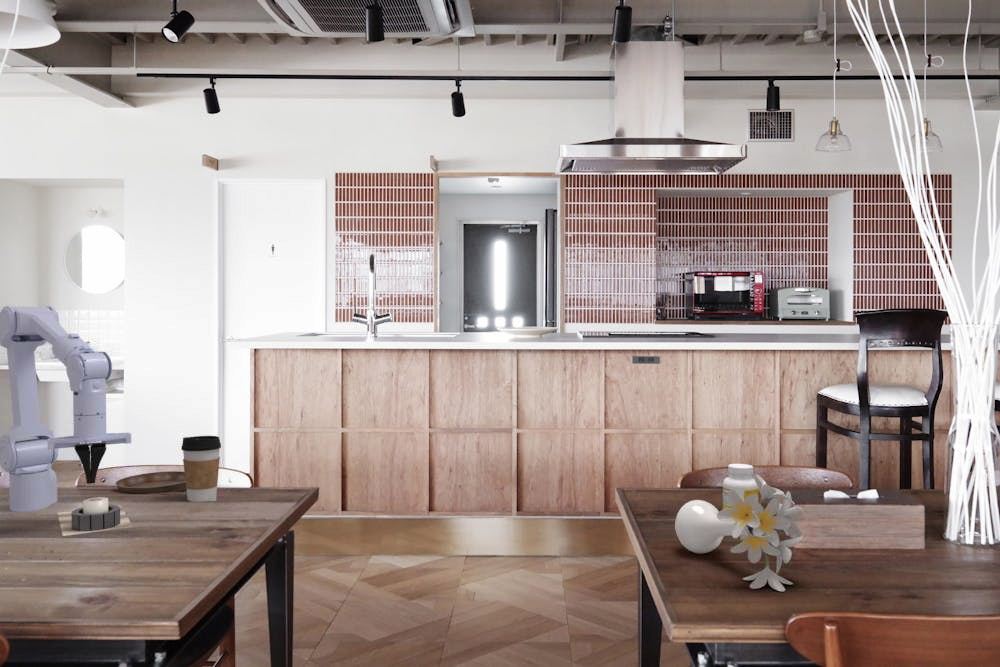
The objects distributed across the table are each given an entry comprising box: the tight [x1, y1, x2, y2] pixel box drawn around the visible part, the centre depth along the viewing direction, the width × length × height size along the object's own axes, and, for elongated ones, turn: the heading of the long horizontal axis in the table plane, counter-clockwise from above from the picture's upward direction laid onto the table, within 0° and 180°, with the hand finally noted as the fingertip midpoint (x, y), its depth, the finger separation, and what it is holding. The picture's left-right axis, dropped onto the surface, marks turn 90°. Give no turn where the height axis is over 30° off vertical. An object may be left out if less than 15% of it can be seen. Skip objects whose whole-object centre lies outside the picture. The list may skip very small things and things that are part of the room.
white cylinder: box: [82, 496, 109, 514], centre depth 154 cm, size 4×4×5 cm
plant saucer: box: [115, 470, 187, 494], centre depth 190 cm, size 18×18×3 cm
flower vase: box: [674, 472, 805, 593], centre depth 132 cm, size 13×18×25 cm
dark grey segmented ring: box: [71, 504, 120, 531], centre depth 154 cm, size 8×8×3 cm
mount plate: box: [57, 505, 133, 537], centre depth 159 cm, size 20×12×1 cm, turn 32°
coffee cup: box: [180, 435, 222, 503], centre depth 176 cm, size 8×8×15 cm
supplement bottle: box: [722, 463, 759, 510], centre depth 153 cm, size 7×7×13 cm
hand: (90, 482), depth 155 cm, fingers closed
